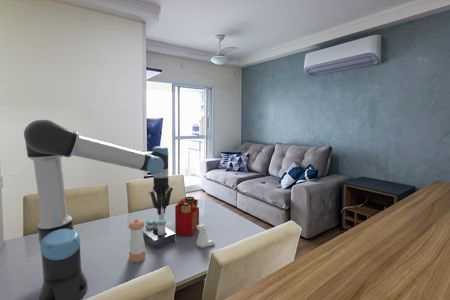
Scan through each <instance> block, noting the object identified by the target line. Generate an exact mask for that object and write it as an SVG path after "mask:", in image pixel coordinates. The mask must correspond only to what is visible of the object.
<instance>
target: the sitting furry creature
mask: <svg viewBox="0 0 450 300" xmlns="http://www.w3.org/2000/svg"><path fill="white" fill-rule="evenodd" d="M196 227H197V229H196V230H197V231H199V233H198V235H197V236H198V237H197V239H196V246H197V247H198V248H201V249H204V248H208V247H211V246H214V245H215V243H216V242H215V241H214V240H209V239H208V237H209V235H208V233H207V227H206V225H205V224H204V223H199V226H198V225H197V226H196Z"/></svg>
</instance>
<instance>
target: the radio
mask: <svg viewBox="0 0 450 300" xmlns="http://www.w3.org/2000/svg"><path fill="white" fill-rule="evenodd" d="M198 204H199V199H197V198H196V199H195V197H194V196H190V195H189V196H186V197H184V198H180V199H179V200H178V203H177V204H176V205H175V206H174V207H175V210H174V212H175V214H174V215H175V216H174V217H175V218H174V219H175V221H174V223H175V226H174V227H175V229H174V230H175V231H174V233H175V236H185V237H186V236H187V237H189V236H190V235H193V234H194V233H195V232H196V230H198V229H197V227H196V226H197V225H198V226H199V225H200V207H199V206H198Z"/></svg>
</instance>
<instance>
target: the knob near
mask: <svg viewBox="0 0 450 300" xmlns="http://www.w3.org/2000/svg"><path fill="white" fill-rule="evenodd" d="M156 221H157V225H158V234H157V236H158V237H162V236H164V235H165V227H166V224H167V220H165V219H164V221H160V220H159V219H158V220H156Z"/></svg>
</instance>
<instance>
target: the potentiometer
mask: <svg viewBox="0 0 450 300" xmlns="http://www.w3.org/2000/svg"><path fill="white" fill-rule="evenodd" d="M157 221H158V220H155V224H154V225H153V231H158V225H157Z"/></svg>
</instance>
